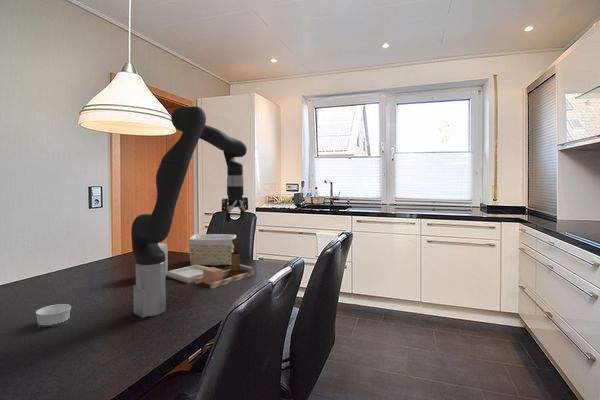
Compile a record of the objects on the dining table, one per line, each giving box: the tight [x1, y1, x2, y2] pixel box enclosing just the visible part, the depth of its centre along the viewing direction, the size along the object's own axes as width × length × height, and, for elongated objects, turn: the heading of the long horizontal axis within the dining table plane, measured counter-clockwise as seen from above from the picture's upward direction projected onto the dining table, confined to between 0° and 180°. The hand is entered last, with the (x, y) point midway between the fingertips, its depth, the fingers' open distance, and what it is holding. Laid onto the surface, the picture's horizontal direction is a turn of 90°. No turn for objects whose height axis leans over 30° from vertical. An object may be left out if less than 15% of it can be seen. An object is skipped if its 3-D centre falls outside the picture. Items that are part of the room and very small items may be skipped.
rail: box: [194, 263, 255, 290], centre depth 149 cm, size 24×12×4 cm, turn 143°
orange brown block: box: [202, 266, 224, 286], centre depth 143 cm, size 5×7×6 cm
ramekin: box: [35, 303, 72, 326], centre depth 103 cm, size 9×9×4 cm
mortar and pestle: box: [227, 237, 243, 278], centre depth 153 cm, size 7×6×18 cm
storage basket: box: [187, 233, 237, 266], centre depth 178 cm, size 24×16×15 cm
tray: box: [167, 265, 210, 284], centre depth 154 cm, size 16×16×2 cm
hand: (235, 220), depth 152 cm, fingers open, 8 cm apart
